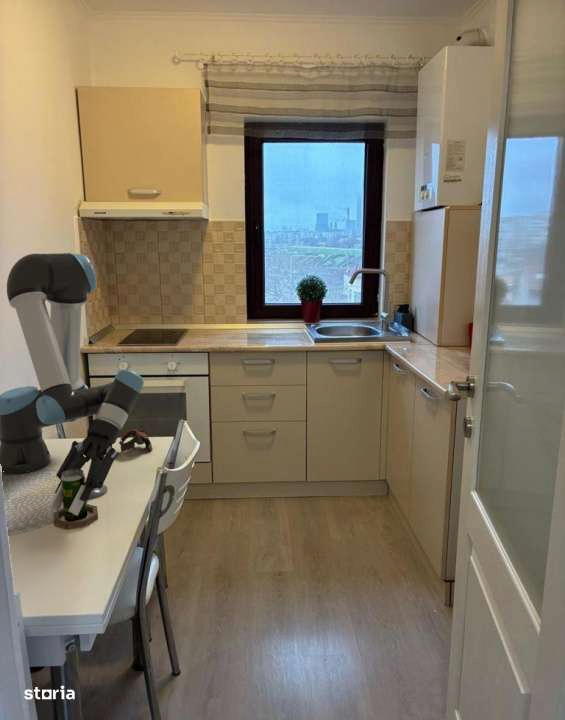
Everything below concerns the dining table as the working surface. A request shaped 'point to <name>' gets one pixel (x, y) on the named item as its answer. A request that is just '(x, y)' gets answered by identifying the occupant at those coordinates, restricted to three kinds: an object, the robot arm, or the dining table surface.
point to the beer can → (72, 493)
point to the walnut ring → (77, 523)
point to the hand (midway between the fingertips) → (63, 510)
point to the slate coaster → (98, 492)
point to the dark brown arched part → (135, 440)
